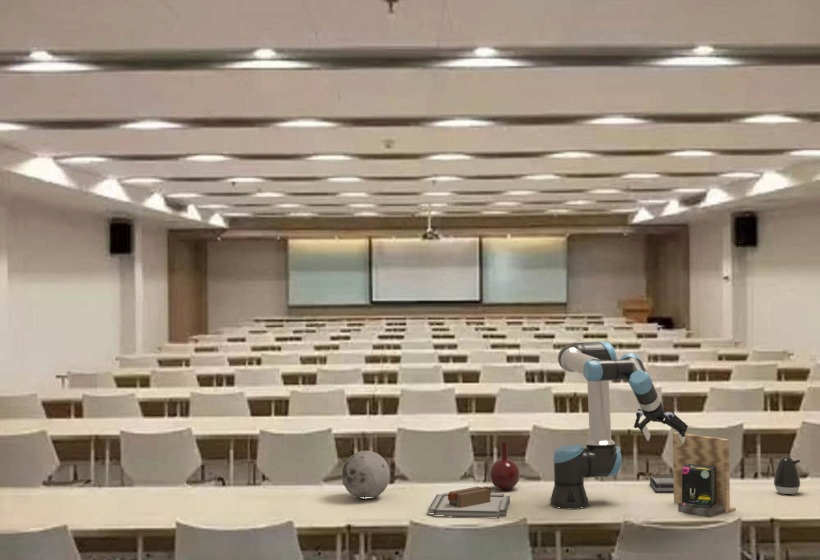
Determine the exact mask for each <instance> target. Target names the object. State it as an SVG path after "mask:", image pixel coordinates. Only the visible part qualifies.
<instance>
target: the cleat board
mask: <svg viewBox="0 0 820 560" xmlns="http://www.w3.org/2000/svg"><path fill="white" fill-rule="evenodd" d="M729 443H730V439H729V438H723V437H722V438H720V437H712V436H707V435H706V436H705V435H698V434H689V433H685V441H684V444H682V443H681V440H680V438H679V436H678V433H677V431H675V432H672V459H673V461H672V465H673V466H672V468H673V469H672V471H673V472H672V473H673V475H674V493H673V504H677V510H678V512H681V513H682V512H683V513H686V514H687V513H688V514H693V515H698V516H703V517H707V518H711V517H715V516H718V514H719V515H722V514H728V512H729V513H732V512H735V510H737V509H736V507H733V506H731V496H730V493H731V492H730V488H731V487H730V444H729ZM688 464H696V465H707V466H716V504H714V505H713V506H712V507H711V508H702V507H693V506H684V505H682V468H683V467H684V466H686V465H688ZM731 511H732V512H731ZM724 512H725V513H724Z"/></svg>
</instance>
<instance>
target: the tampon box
mask: <svg viewBox="0 0 820 560" xmlns="http://www.w3.org/2000/svg"><path fill="white" fill-rule="evenodd" d="M714 504H716V466H707V465H696V464H688V465H686V466H684V467H683V468H682V505H684V506H693V507H702V508H711V507H712V506H713V505H714Z"/></svg>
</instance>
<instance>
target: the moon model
mask: <svg viewBox="0 0 820 560" xmlns="http://www.w3.org/2000/svg"><path fill="white" fill-rule="evenodd" d="M390 474H391V473H390V468H389V465H388V463H387V461H386V460H385V458H383V457H382V455H380V454H379V453H377V452H374V451H372V450H361V451H358V452H355V453H354V454H352V455H350V456H349V457H348V458H347V460H346V461H345V463H344V465H343V467H342V471H341V479H342V480H341V481H342V484H343V485H344V488H345V490H346V491H347V492H348V493H349V494H350V495H352V496H353V497H355V496H356V497H355V498H357V497H364V498H365V497H375V498H376V496H377V497H378V496H380V495H381V494H383V492H384V491H385V490H386V489H387V487H388V485H389V482H390V478H391V476H390Z"/></svg>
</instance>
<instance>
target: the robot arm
mask: <svg viewBox="0 0 820 560" xmlns="http://www.w3.org/2000/svg"><path fill="white" fill-rule="evenodd" d="M557 362H558V364H559V366H560V367H561V369H563V370H564V371H567V372H571V373H574V372H576V373H579V374H581V375H583V377H584V378H585V380H586V381H587V382H586V383H587V402H588V403H587V404H588V405H587V406H588V409H587V410H588V427H589V428H588V430H589V439H588V441H587V442H586V443H585V446H586V447H585V448H584V446H583V445H581V444H567V445H563V446H562V445H561V446H559V447H558V448H556V449H555V450H554V452H553V463H554V464H553V471H554V473H553V474H554V475H553V476H554V477H553V479H554V485H553V489H552V493H551V496H550V506H551V505H553V506H555V507H554V508H557V507H560V508H559V509H563V508H579V509H582V508H581V507H584V508H586V507H585V506H587V507H589V502H590V501H589V497H588V495H587V492H586V489H585V483H584V481H585V479H588V478H592V479H593V478H608V477H613V476H616V475H617V474H618V473H620V469H621V466H622V454H621V449H620V447H618V446H617V445H616V442H615V441H614V440H613V439H612V425H611V421H612V420H611V401H610V399H611V398H610V381H627V382H628V384H629V386H630V389H631V390H632V392H633V394H634V397H635V399H636V401H637V402H638V404H639V408H637V411H636V413H635V415H636V418H635V421H634V422H635V423H634V424H633V428H634V429H637V428H638V429H639V431H640V432H641V434H642V435H644V437H645V439H646V441H647V442H649V441H650V438H651V432H650V430H649V428H648V426H647V425H648V424H649V423H650V422H653V423H655V422H658V423H661V424H662V425H667V426H669V427H670V428H671V429H674V431H676V433H678V436H679V438H680V440H681V443H682V444H684V441H685V434H686V433H687V431H688V428H689V426H688V424H686V422H684V421H683V420H682V419H681V418H679V416H677V414H675V412H674V411H673V410H670V411H669V412H666V411H665V410H664V406H663V403H662V402H661V399H660V396H659V394H658V392H657V389H656V387H655V385H654V383H653V379H652V378H651V376H650V374H649V373H648V372H647V370H646V368H645V365H644V363H643V361H642V359H641V358H640V357H639V355H637V353H634V352H628V353H626V354H623V355H622V356H621V358H619V359H618V357H617V352H616V350H615V348H614V346H613V345H612V344H611V343H610V342H607V341H594V342H593V341H592V342H591V341H590V342H589V341H588V342H585V341H584V342H572V343H569V344H567V345H565V346H563V348H561V349H560V351H559V352H558V356H557ZM643 416H644V418H643V420H642V421H640V420H641V418H642V417H643ZM553 506H552V507H553Z"/></svg>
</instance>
